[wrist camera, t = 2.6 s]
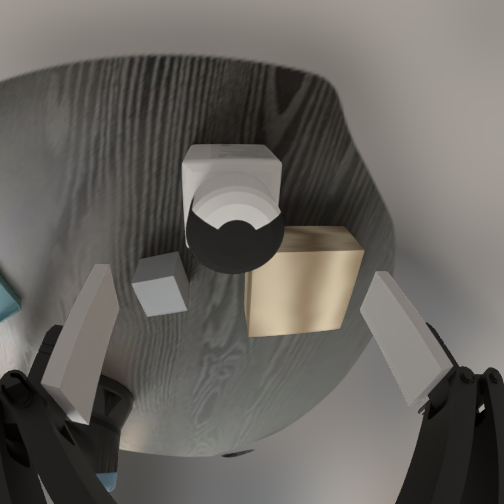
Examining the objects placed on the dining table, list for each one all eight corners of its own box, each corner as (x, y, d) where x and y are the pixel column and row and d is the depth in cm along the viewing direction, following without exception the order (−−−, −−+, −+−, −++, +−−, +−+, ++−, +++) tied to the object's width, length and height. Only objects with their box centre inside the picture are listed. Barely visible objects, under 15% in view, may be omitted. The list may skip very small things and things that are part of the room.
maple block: (243, 304, 38) (248, 337, 33) (246, 225, 32) (253, 253, 27) (325, 299, 40) (339, 328, 35) (343, 225, 34) (364, 250, 29)
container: (261, 212, 31) (288, 285, 20) (191, 213, 30) (180, 289, 19) (266, 144, 27) (303, 181, 16) (189, 144, 26) (170, 181, 15)
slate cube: (153, 290, 35) (147, 316, 31) (140, 258, 32) (131, 283, 28) (189, 283, 35) (187, 310, 31) (178, 250, 33) (173, 275, 28)
